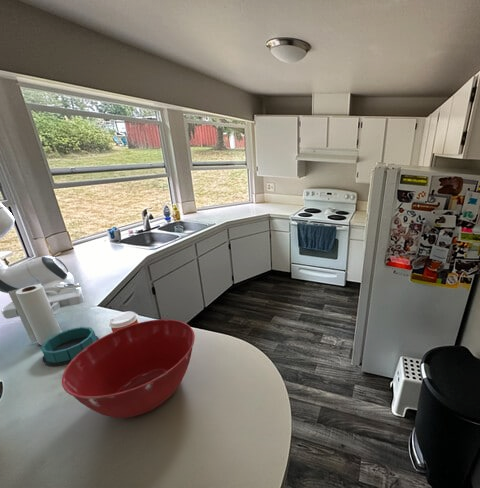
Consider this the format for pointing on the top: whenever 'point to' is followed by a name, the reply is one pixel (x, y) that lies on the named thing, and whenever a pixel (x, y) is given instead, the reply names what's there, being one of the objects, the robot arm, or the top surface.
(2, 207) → the robot arm
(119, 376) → the mixing bowl
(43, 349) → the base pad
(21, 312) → the paper towel roll
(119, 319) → the paper cup
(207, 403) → the top surface
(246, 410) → the top surface
